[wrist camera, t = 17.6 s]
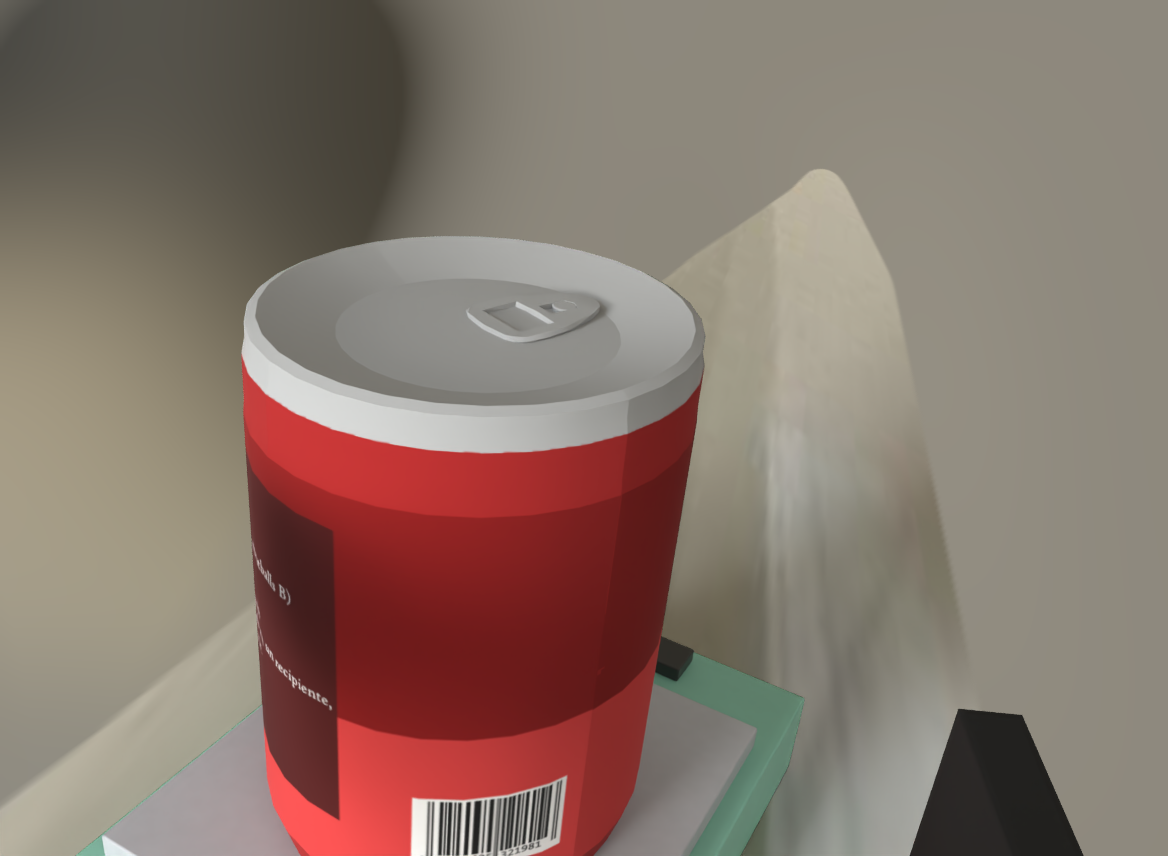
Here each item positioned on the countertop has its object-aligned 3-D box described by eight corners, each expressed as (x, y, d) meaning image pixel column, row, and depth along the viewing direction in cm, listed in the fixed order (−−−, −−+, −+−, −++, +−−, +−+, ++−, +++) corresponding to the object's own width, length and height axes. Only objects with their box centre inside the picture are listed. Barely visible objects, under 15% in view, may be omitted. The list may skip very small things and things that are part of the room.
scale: (789, 766, 29) (810, 679, 28) (521, 1266, 19) (534, 1166, 17) (447, 615, 34) (450, 533, 32) (68, 952, 23) (48, 851, 21)
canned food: (698, 753, 25) (785, 308, 20) (479, 1014, 19) (521, 475, 14) (441, 615, 29) (458, 206, 24) (188, 800, 23) (136, 305, 18)
